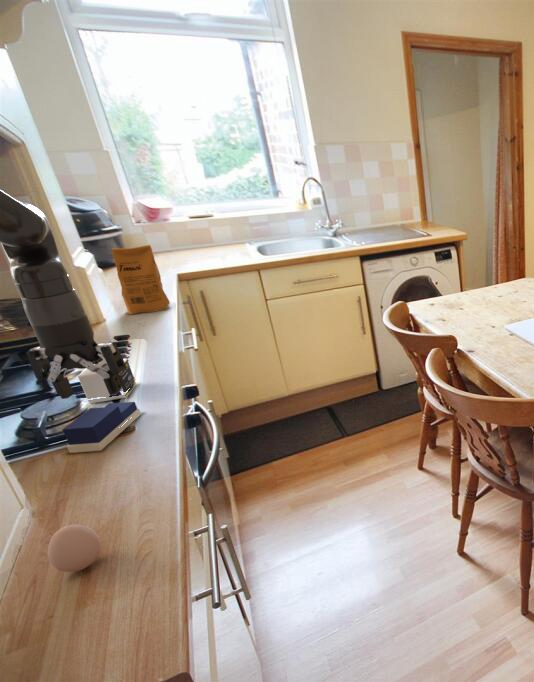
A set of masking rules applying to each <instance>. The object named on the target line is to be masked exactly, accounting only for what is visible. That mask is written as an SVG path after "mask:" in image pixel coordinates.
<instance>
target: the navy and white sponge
mask: <svg viewBox="0 0 534 682" xmlns="http://www.w3.org/2000/svg"><path fill="white" fill-rule="evenodd" d="M141 415H142V413H141V410H140V408H139V407H137V404H136V402H135V401H126V402H125V401H123V402H110V403H108V404H106V406H101V407H90V408H89V409H87V410H86V411H85V412H84V413H82V414H81V415H79V416H78V417H76V418H75V419H74V420H73V421H71V422H70V423H68V424H67V425H66V426H64V427H63V428H62V429H61V430H62V432H63V435H64V436H65V438H66V441H67V443H68V445H67V446H66V448H67V450H68V452H69V453H70V454H74V453H75V454H76V453H87V452H100V451H103V449H105V448H106V447H107V446H108V445H109V444H110V443H111V442H112V441H113V440H115V439H116V438H117V437H118V436H119V435H120V434H121V433H122V432H123V431H124V430H125V429H126V428H128V427H129V426H130V425H131V424H132V423H134V421H136V420H137V419H138V418H139V417H140V416H141ZM131 417H132V418H131ZM130 418H131V419H130ZM127 420H128V421H127ZM126 421H127V422H126ZM125 422H126V423H125ZM124 423H125V424H124ZM123 424H124V425H123ZM122 425H123V426H122ZM121 426H122V427H121ZM119 427H120V428H119Z"/></svg>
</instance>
